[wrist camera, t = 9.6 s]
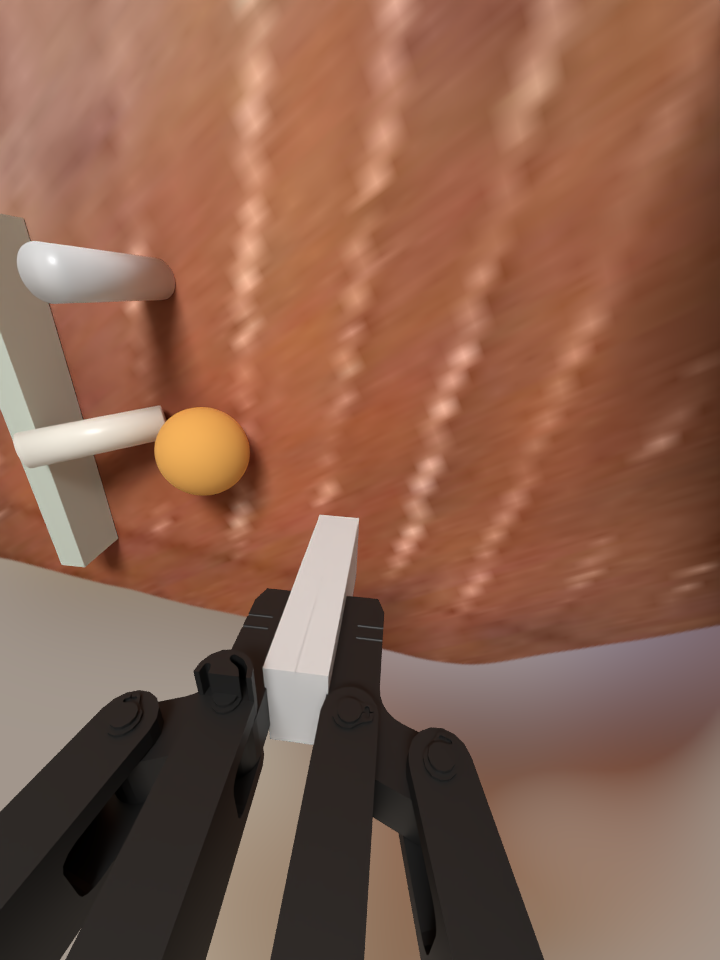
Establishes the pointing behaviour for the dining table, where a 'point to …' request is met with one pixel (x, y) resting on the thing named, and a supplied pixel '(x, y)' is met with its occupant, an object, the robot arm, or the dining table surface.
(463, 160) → the dining table surface
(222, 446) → the ball
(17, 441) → the pin
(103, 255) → the grey pin
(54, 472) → the wall
